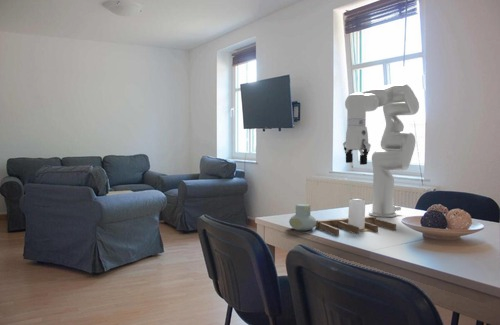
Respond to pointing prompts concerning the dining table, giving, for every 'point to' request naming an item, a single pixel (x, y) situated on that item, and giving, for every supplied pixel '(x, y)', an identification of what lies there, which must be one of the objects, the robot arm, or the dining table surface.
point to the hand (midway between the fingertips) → (356, 163)
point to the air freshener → (302, 218)
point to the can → (357, 213)
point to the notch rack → (343, 223)
